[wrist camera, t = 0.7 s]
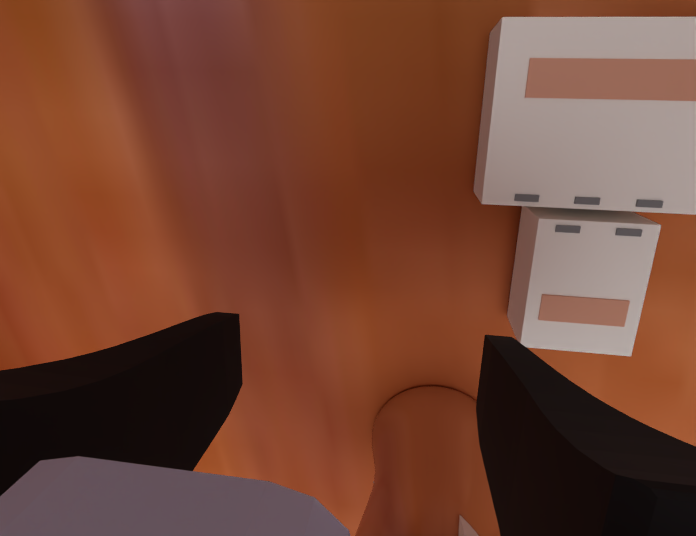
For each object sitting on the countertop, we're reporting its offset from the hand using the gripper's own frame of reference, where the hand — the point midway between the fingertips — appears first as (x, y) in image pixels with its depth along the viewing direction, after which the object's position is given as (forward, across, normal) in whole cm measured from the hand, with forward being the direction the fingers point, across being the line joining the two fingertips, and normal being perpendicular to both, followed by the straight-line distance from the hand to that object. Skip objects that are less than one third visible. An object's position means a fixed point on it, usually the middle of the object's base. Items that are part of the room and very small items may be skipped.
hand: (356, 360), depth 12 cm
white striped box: (+10, -10, -6) cm, 15 cm away
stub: (+10, -8, 0) cm, 12 cm away
